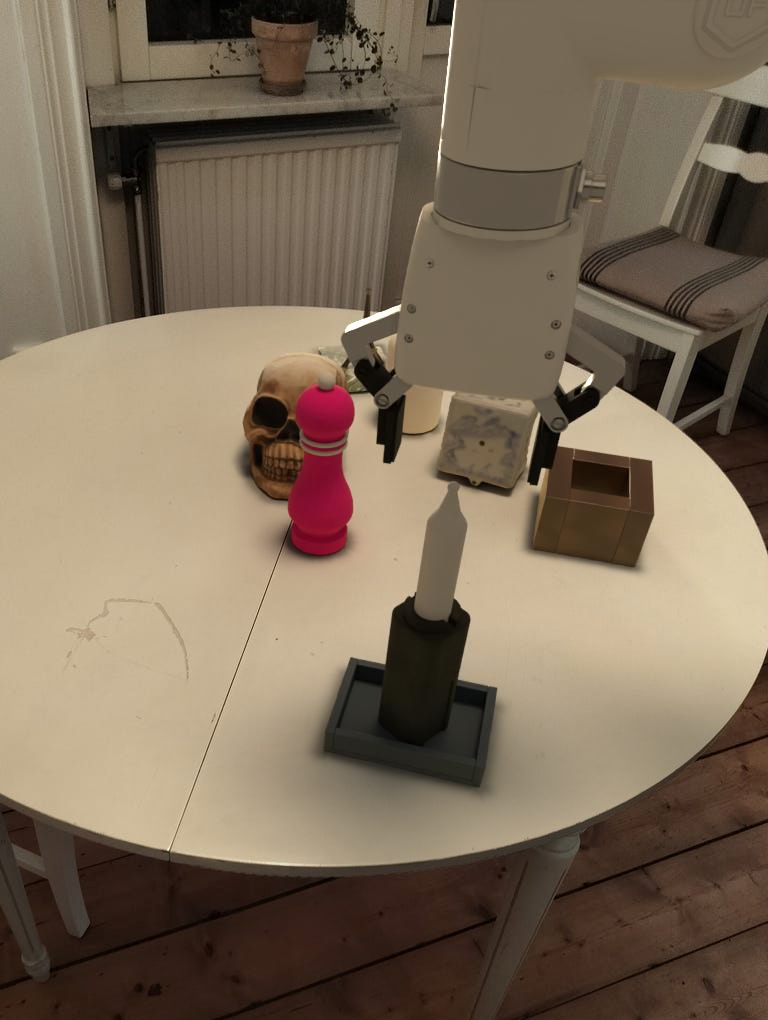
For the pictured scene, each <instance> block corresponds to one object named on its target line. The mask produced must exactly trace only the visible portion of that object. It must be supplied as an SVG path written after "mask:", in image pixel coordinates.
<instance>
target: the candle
mask: <svg viewBox="0 0 768 1020" xmlns="http://www.w3.org/2000/svg"><path fill="white" fill-rule="evenodd" d="M460 488H461V486H460V484H459V483H458V482H457V481H456V480H453V481H451V482H449V483H448V484H447V492H446V494H445V495H444V497H443V499H442V500H441V503H440V504H439V507H438V508H437V509H435V511H433V512H431V514H430V515H429V516H428V517H427V521H426V525H425V533H424V540H423V544H422V545H423V546H422V552H421V558H420V565H419V571H418V572H419V573H418V578H417V584H416V591H414V594H413V596H410V595H408V596H406V597H405V599H404V601H402V602H401V603H399V604H398V605H396V606H394V607H393V609H392V611H391V619H390V625H389V632H388V633H389V634H388V640H387V647H386V648H387V649H386V655H385V663H384V664H385V670H384V678H383V685H382V693H381V701H380V708H379V716H378V721H379V723H380V725H381V726H382V727H384V728H385V729H386V730H387V731H388V732H390V733H391V734H392V735H393V736H394V737H396V738H397V739H398V740H399V741H400V742H403V743H407V744H412V745H416V746H420V747H422V746H424V743H425V742H426V741H427V740H429V739H430V738H432V737H433V736H435V735H436V734H437V733H439V732H440V731H445V730H446V729H447V727H448V723H449V718H450V714H451V709H452V704H453V700H454V695H455V690H456V686H457V681H458V680H459V676H460V672H461V667H462V664H463V663H462V662H463V658H464V653H465V648H466V644H467V640H468V634H469V629H470V625H471V620H472V618H471V615H470V613H469V612H468V611H466V610H465V609H464V608H462V605H461V604H460V603H459V601H458V600H457V599H456V598H455V593H456V589H457V584H458V578H459V573H460V567H461V563H462V558H463V557H462V556H463V553H464V552H463V551H464V547H465V542H466V537H467V533H468V521H467V519H466V516H465V515H464V514H463V512H462V510H461V504H460V499H459V490H460Z"/></svg>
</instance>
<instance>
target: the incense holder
mask: <svg viewBox="0 0 768 1020" xmlns="http://www.w3.org/2000/svg"><path fill="white" fill-rule="evenodd" d="M450 398H451V399H450V402H449V406H448V411H447V416H446V421H445V425H444V431H443V436H442V440H441V445H440V446H441V447H440V451H439V454H438V458H437V465H436V469H437V470H438V471H441V472H444V473H447V474H452V475H457V476H462V477H464V478H467V479H469V482H470V484H471V485H472V486H473V487H477V486H479V485H480V484H481V483H482V482H484V483H488V484H490V485H494V486H497V487H500V488H504V489H512V488H514V486H515V484H516V483H517V481H518V478H519V477H520V475H521V474H522V473H523V472H524V471H525V470H526V469H527V463H528V454H529V447H530V443H531V439H532V434H533V429H534V425H535V423H536V419H537V418H538V416H539V412H538V410H537V408H536V407H535V405H534V404H533V402H532V401H525V400H514V399H505V398H497V397H489V396H481V395H473V394H465V393H458V392H454V394H452V395H451V397H450Z"/></svg>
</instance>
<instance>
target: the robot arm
mask: <svg viewBox="0 0 768 1020" xmlns="http://www.w3.org/2000/svg"><path fill="white" fill-rule="evenodd" d="M452 14H453V15H452V23H451V24H452V26H451V32H450V33H451V36H450V45H449V53H448V54H449V55H448V63H447V64H448V65H447V72H446V73H447V74H446V81H445V91H444V101H443V109H442V119H441V128H440V138H439V150H438V158H437V167H436V174H435V175H436V176H435V185H434V194H433V201H431V202H428V203H425V204H424V205H423V207H422V209H421V212H420V214H419V218H418V221H417V224H416V225H417V226H416V229H415V233H414V237H413V240H412V245H411V249H410V254H409V258H408V263H407V267H406V272H405V279H404V284H403V290H402V295H401V303H400V304H399V305H397V306H394V307H391V308H389V309H386V310H383V311H381V312H378V313H375V314H374V315H370V317H368V318H366V319H363V318H362V319H361V320H359V321H356V322H353V323H351V324H349V325H347V326H346V327H345V329H344V331H343V333H342V334H341V336H340V343H341V345H342V347H344V349H345V352H346V354H347V356H348V358H349V360H350V363H352V365H353V367H354V374H355V376H356V378H357V379H358V380H359V381H360V382H361V383H362V385H363V386H364V387H365V388H366V389H367V390H366V391H368V393H369V395H371V396H372V397H373V404H374V406H375V407H376V408H378V412H377V426H376V439H375V440H376V441H375V443H376V445H378V446H383V454H382V455H383V456H382V463H383V464H387V465H391V464H392V463H395V462H396V458H397V455H398V452H399V450H400V448H401V445H402V440H403V432H402V431H403V421H404V411H405V401H406V395H404V393H405V392H406V391H408V390H409V389H410V388H411V387H412V386H413V385H414V386H418V387H423V388H429V389H436V390H443V392H449V393H456V392H458V393H465V394H473V395H481V396H489V397H497V398H505V399H514V400H525V401H532V402H533V404H534V405H535V407H536V408H537V410H538V414H539V419H538V423H537V429H536V433H535V437H534V442H533V447H532V451H531V456H530V461H529V467H528V473H527V479H526V483H528V484H529V485H530V486H535V487H538V485H539V481H540V477H541V472H542V470H543V469H545V470H546V469H552V467H553V463H554V459H555V455H556V451H557V447H558V446H559V443H560V438H561V435H562V433H563V432H565V431H566V430H567V429H568V427H569V425H570V424H572V423H573V422H575V421H576V420H578V419H580V418H581V417H583V416H584V415H586V414H588V413H589V412H591V411H593V410H594V409H596V408H597V407H598V406H599V404H600V402H601V400H602V399H603V398H604V397H605V396H607V395H608V394H609V393H610V392H611V390H612V389H613V388H614V387H615V386H616V385H617V384H618V383H619V382H620V381H621V380H622V379H623V377H624V376H625V375H626V359H625V357H623V356H622V355H621V354H619V353H618V352H616V351H615V350H613V349H612V348H610V347H609V346H607V345H606V344H605V343H603V342H602V341H600V340H599V339H597V338H596V337H594V336H593V335H592V334H590V333H589V332H587V331H585V330H584V329H583V328H581V327H579V326H578V325H577V324H575V323H574V322H573V320H574V319H573V318H574V312H575V307H576V300H577V294H578V289H579V285H580V284H579V282H580V276H581V267H582V266H581V264H582V257H583V245H584V219H583V217H582V216H581V215H579V214H577V213H576V212H574V211H573V209H574V210H579V207H580V205H581V204H583V205H588V202H590V203H591V202H592V203H603V201H604V196H605V192H606V188H607V183H608V177H609V174H607V173H595V170H594V169H592V170H591V169H588V163H587V164H586V163H583V159H584V157H585V153H586V147H587V142H588V138H589V133H590V129H591V123H592V119H593V113H594V110H595V104H596V99H597V95H598V91H599V85H600V82H601V81H606V80H610V81H611V80H612V81H618V82H627V83H632V84H640V85H646V86H652V87H657V88H664V89H672V90H680V91H704V90H711V89H716V88H720V87H724V86H727V85H730V84H733V83H736V82H738V81H739V80H742V79H743V78H745V77H747V76H749V75H751V74H753V73H754V72H756V71H757V70H759V69H760V68H763V66H764V65H766V64H767V63H768V0H454V7H453V13H452ZM396 333H397V337H396V345H395V357H394V367H393V368H392V369H391V370H390V371H389V372H388V370H387V369H386V368H385V367H384V366H383V365H382V363H381V362H380V361H379V360H378V359H377V358H376V356H375V355H374V354H372V351H371V347H370V343H372V342H373V343H374V342H378V341H380V340H383V339H386V338H389V337H390V336H391V335H394V334H396ZM566 354H567V355H568V356H570V357H572V358H573V359H574V360H576V361H578V362H579V363H581V364H582V365H583V366H585V367H586V368H588V369H589V370H591V371H592V374H590V376H589V378H588V379H587V380H585V381H584V382H582V383H580V384H578V385H577V386H576V387H574V388H573V389H571V390H569V391H567V393H566V391H565V390H564V388H563V386H562V385H561V383H560V382H559V381H560V378H561V374H562V372H563V369H564V368H563V367H564V363H565V359H566Z"/></svg>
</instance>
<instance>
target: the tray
mask: <svg viewBox="0 0 768 1020" xmlns="http://www.w3.org/2000/svg"><path fill="white" fill-rule="evenodd" d="M384 670H385V663H380V662H377V661H372V660H366V659H362V658H357V657H353V656H352V657H351V656H350V658H349V660H348V663H347V666H346V669H345V671H344V675H343V677H342V680H341V684H340V686H339V690H338V693H337V694H336V699H335V701H334V704H333V706H332V710H331V713H330V716H329V719H328V722H327V724H326V728H325V731H324V741H323V742H324V744H323V750H324V751H326V752H330V753H333V754H338V755H342V756H346V757H350V758H351V757H352V758H355V759H358V760H359V759H360V760H364V761H369V762H373V763H377V764H381V765H386V766H389V767H394V768H398V769H402V770H407V771H411V772H415V773H418V774H419V773H420V774H423V775H428V776H433V777H437V778H441V779H446V780H448V781H449V780H450V781H453V782H458V783H463V784H467V785H471V786H475V787H478V788H479V787H481V785H482V782H483V778H484V775H485V772H486V766H487V758H488V754H489V753H488V752H489V747H490V740H491V733H492V727H493V722H494V721H493V719H494V714H495V707H496V701H497V695H498V687H497V686H492V685H486V684H482V683H481V684H480V683H476V682H471V681H467V680H463V679H458V681H457V686H456V690H455V695H454V700H453V704H452V709H451V714H450V718H449V723H448V727H447V729H446V730H445V731H440V732H439V733H437V734H436V735H435V736H433V737H432V738H430V739H429V740H427V741H426V742H425V743H424V746H422V747H420V746H416V745H412V744H407V743H403V742H400V741H399V740H398V739H397V738H396V737H394V736H393V735H392V734H391V733H390V732H388V731H387V730H386V729H385V728H384V727H382V726H381V725H380V723H379V721H378V716H379V708H380V701H381V693H382V685H383V678H384Z"/></svg>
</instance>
